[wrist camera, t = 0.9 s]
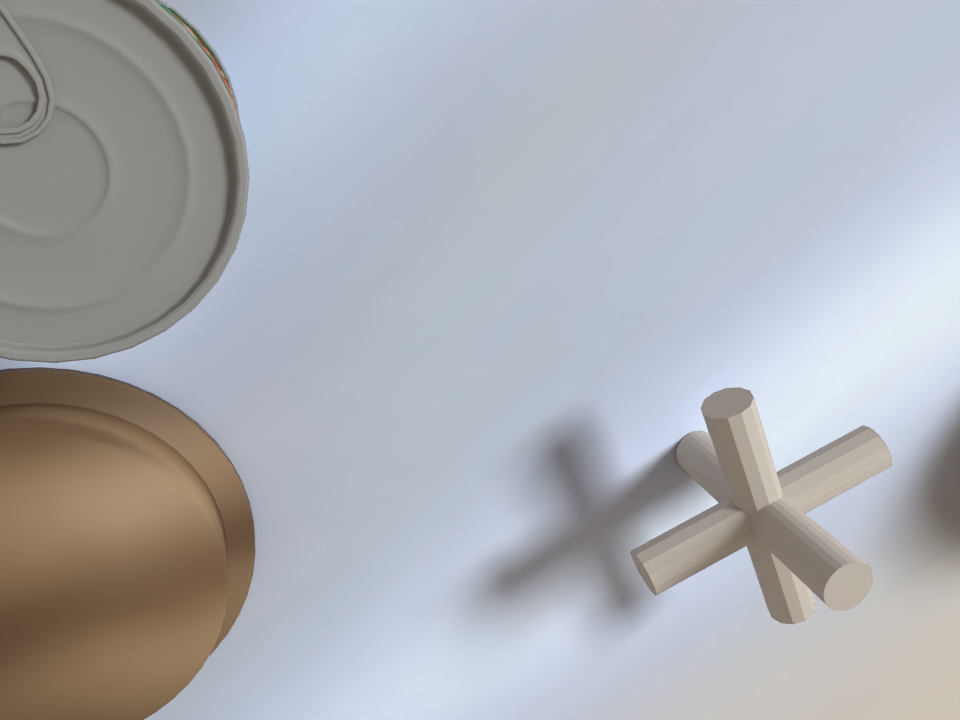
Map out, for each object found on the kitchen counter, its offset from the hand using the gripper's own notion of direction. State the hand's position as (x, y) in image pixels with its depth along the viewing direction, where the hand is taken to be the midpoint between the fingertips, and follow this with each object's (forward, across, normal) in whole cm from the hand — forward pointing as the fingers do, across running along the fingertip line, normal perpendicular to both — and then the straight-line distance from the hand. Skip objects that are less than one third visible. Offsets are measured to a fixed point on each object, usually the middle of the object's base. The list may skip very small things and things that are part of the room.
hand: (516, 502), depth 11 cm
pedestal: (+20, -13, -10) cm, 26 cm away
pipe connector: (+21, +12, -14) cm, 28 cm away
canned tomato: (+21, -6, +4) cm, 22 cm away
